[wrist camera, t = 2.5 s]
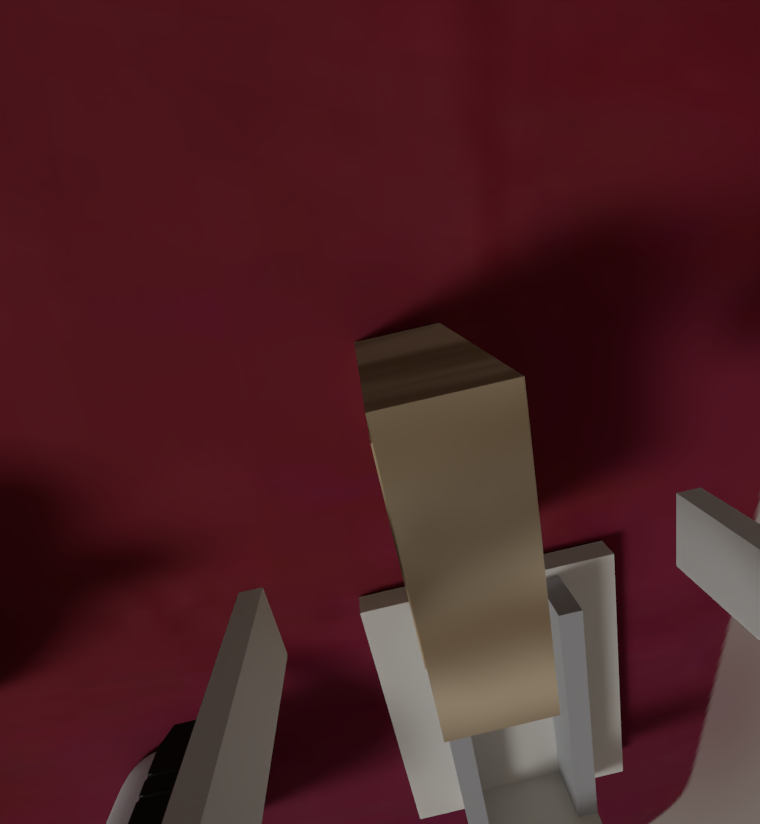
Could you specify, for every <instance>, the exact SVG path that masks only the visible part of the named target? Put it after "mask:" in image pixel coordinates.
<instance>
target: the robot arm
mask: <svg viewBox="0 0 760 824" xmlns="http://www.w3.org/2000/svg"><path fill="white" fill-rule="evenodd" d="M676 566H677V567H678V568H679V569H681V570H682V571H683V572H684V573H685V574H686V575H687V576H688V577H689V578H691V579H692V580H693V581H694V582H695V583H696V584H697V585H698V586H699V587H701V588H702V589H703V590H704V591H705V592H706V593H707V594H708V595H709V596H711V597H712V598H713V599H714V600H715V601H716V602H717V603H718V604H719V605H720V606H722V607H723V608H724V609H725V610H726V611H727V612H728V613H729V614H730V615H732V616H733V617H734V618H735V619H736V620H737V621H738V622H739V623H741V624H742V625H743V626H744V627H745V628H746V629H747V630H748V631H749V632H750V633H752V634H753V635H754V636H755V637H756V638H757V639H758V640H759V641H760V524H759V523H757V522H755V521H754V520H752V519H751V518H749V517H747V516H746V515H744V514H743V513H741V512H739V511H738V510H736V509H734V508H733V507H731V506H730V505H728V504H726V503H725V502H723V501H721V500H720V499H718V498H717V497H715V496H713V495H712V494H710V493H709V492H707V491H705V490H704V489H702V488H697V489H692V490H688V491H683V492H679V493H676ZM286 661H287V652H286V649H285V646H284V644H283V641H282V638H281V636H280V633H279V630H278V627H277V625H276V622H275V619H274V617H273V614H272V611H271V608H270V606H269V603H268V600H267V598H266V595H265V592H264V589H263V588H258V589H254V590H250V591H245V592H241V593H238V596H237V599H236V602H235V605H234V608H233V611H232V614H231V617H230V620H229V623H228V626H227V629H226V632H225V635H224V638H223V641H222V644H221V647H220V650H219V653H218V656H217V659H216V662H215V665H214V668H213V671H212V674H211V677H210V680H209V683H208V686H207V689H206V692H205V695H204V698H203V701H202V704H201V707H200V710H199V713H198V716H197V719H196V720H194V721H189V722H185V723H181V724H176V725H174V726H173V728H172V729H171V730H170V732H169V733H168V735H167V736H166V737H165V739H164V740H163V742H162V743H161V744H160V746H159V747H158V749H157V751H156V754H155V756H154V759H153V761H152V764H151V766H150V769H149V771H148V774H147V779H146V780H145V781H144V784H143V786H142V789H141V792H140V794H139V801H138V802H136V804H135V807H134V809H133V812H132V814H131V817H130V819H129V822H128V824H261V823H262V817H263V810H264V804H265V797H266V791H267V784H268V778H269V771H270V765H271V758H272V752H273V745H274V739H275V732H276V726H277V719H278V713H279V706H280V700H281V693H282V687H283V680H284V674H285V667H286Z"/></svg>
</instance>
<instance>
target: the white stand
mask: <svg viewBox="0 0 760 824" xmlns="http://www.w3.org/2000/svg"><path fill="white" fill-rule="evenodd" d="M543 555H544V565H545V574H546V583H547V593H548V602H549V612H550V621H551V631H552V640H553V650H554V659H555V668H556V678H557V687H558V697H559V706H560V715H558V716H554V717H550V718H546V719H542V720H537V721H533V722H529V723H525V724H520V725H516V726H512V727H508V728H503V729H499V730H495V731H491V732H487V733H482V734H478V735H474V736H470V737H465V738H461V739H457V740H453V741H448V742H444V739H443V735H442V731H441V727H440V722H439V718H438V714H437V710H436V706H435V702H434V697H433V693H432V689H431V685H430V681H429V677H428V672H427V669H425V667H424V663H423V658H422V654H421V650H420V646H419V642H418V638H417V634H416V629H415V625H414V621H413V617H412V613H411V609H410V605H409V600H408V596H407V592H406V588H405V587H400V588H396V589H392V590H387V591H383V592H379V593H375V594H370V595H366V596H362V597H359V600H360V614H361V618H362V621H363V625H364V628H365V631H366V635H367V638H368V642H369V645H370V649H371V652H372V655H373V659H374V662H375V666H376V669H377V673H378V676H379V679H380V683H381V686H382V690H383V693H384V697H385V700H386V703H387V707H388V710H389V714H390V717H391V721H392V724H393V727H394V731H395V734H396V738H397V741H398V745H399V748H400V751H401V755H402V758H403V762H404V765H405V768H406V772H407V775H408V779H409V782H410V786H411V789H412V792H413V796H414V799H415V803H416V806H417V810H418V813H419V816H420V819H423V818H427V817H431V816H436V815H440V814H444V813H448V812H452V811H457V810H461V809H465V811H466V816H467V820H468V824H602V821H601V819H600V817H599V815H598V813H597V800H596V786H595V778H596V777H600V776H604V775H608V774H613V773H617V772H621V771H623V764H622V739H621V714H620V689H619V664H618V639H617V614H616V589H615V564H614V553H613V552H612V551H611V550H610V549H609V548H608V547H607V546H606V545H605V544H604V542H603V541H598V542H593V543H589V544H585V545H580V546H576V547H572V548H568V549H563V550H559V551H555V552H550V553H546V554H543Z"/></svg>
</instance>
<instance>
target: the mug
mask: <svg viewBox="0 0 760 824" xmlns="http://www.w3.org/2000/svg"><path fill="white" fill-rule="evenodd" d="M155 754H156V752H154V753H152V754H150V755H149V756H147V757H146V758H144V759H143V760H142V761H141V762H140V763H139V764H138V765H137V766H136V767H135V768H134V769H133V770H132V771H131V773H130V774H129V776H128V777H127V779H126V781H125V782H124V784H123V786H122V788H121V790H120V792H119V794H118V797H117V799H116V801H115V804H114V806H113V808H112V811H111V813H110V816H109V818H108V820H107V823H106V824H128V822H129V819H130V817H131V814H132V812H133V809H134V807H135V804H136V802H138V801H139V794H140V792H141V789H142V786H143V784H144V781H145V780H146V779H147V774H148V771H149V769H150V766H151V764H152V761H153V759H154V756H155Z"/></svg>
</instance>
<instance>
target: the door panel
mask: <svg viewBox="0 0 760 824" xmlns="http://www.w3.org/2000/svg"><path fill="white" fill-rule="evenodd" d="M354 343H355V349H356V356H357V362H358V369H359V375H360V382H361V388H362V395H363V401H364V408H365V414H366V418H367V424H368V430H369V436H370V443H371V447H372V451H373V455H374V460H375V464H376V468H377V472H378V476H379V480H380V484H381V489H382V493H383V497H384V501H385V505H386V509H387V513H388V518H389V522H390V526H391V530H392V534H393V538H394V542H395V547H396V551H397V555H398V559H399V563H400V567H401V571H402V576H403V580H404V584H405V588H406V592H407V596H408V600H409V605H410V609H411V613H412V617H413V621H414V625H415V629H416V634H417V638H418V642H419V646H420V650H421V654H422V658H423V663H424V667H425V669H427V672H428V677H429V681H430V685H431V689H432V693H433V697H434V702H435V706H436V710H437V714H438V718H439V722H440V727H441V731H442V735H443V739H444V742H448V741H453V740H457V739H461V738H465V737H470V736H474V735H478V734H482V733H487V732H491V731H495V730H499V729H503V728H508V727H512V726H516V725H520V724H525V723H529V722H533V721H537V720H542V719H546V718H550V717H554V716H558V715H560V706H559V697H558V687H557V678H556V668H555V659H554V650H553V640H552V631H551V621H550V612H549V602H548V593H547V583H546V574H545V565H544V555H543V546H542V536H541V527H540V517H539V508H538V498H537V489H536V479H535V470H534V461H533V451H532V442H531V432H530V423H529V413H528V404H527V394H526V385H525V376H523V375H522V374H520V373H519V372H517V371H515V370H514V369H512V368H511V367H509V366H507V365H506V364H504V363H503V362H501V361H500V360H498V359H496V358H495V357H493V356H492V355H490V354H488V353H487V352H485V351H484V350H482V349H481V348H479V347H477V346H476V345H474V344H473V343H471V342H469V341H468V340H466V339H465V338H463V337H461V336H460V335H458V334H457V333H455V332H454V331H452V330H450V329H449V328H447V327H446V326H444V325H442V324H441V323H436V324H432V325H428V326H423V327H419V328H415V329H410V330H406V331H402V332H397V333H393V334H388V335H384V336H380V337H375V338H371V339H367V340H362V341H358V342H354Z"/></svg>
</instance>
